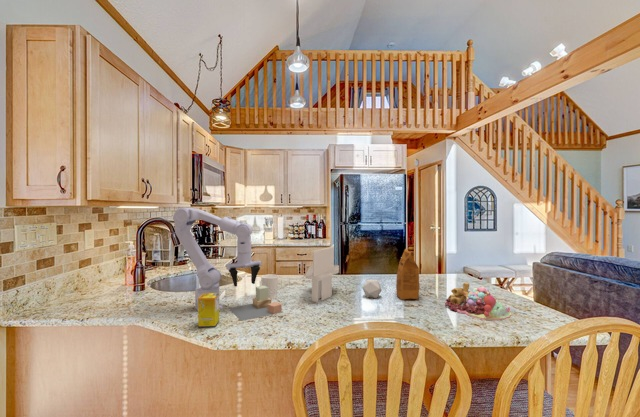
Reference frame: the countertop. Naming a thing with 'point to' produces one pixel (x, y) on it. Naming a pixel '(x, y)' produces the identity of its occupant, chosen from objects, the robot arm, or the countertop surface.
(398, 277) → the coffee package
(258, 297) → the sage block
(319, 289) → the upright slab stand
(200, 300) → the supplement box
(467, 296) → the dessert platter
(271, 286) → the white cup
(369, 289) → the die
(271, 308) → the block
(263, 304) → the base block
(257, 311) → the mat
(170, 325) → the countertop surface
